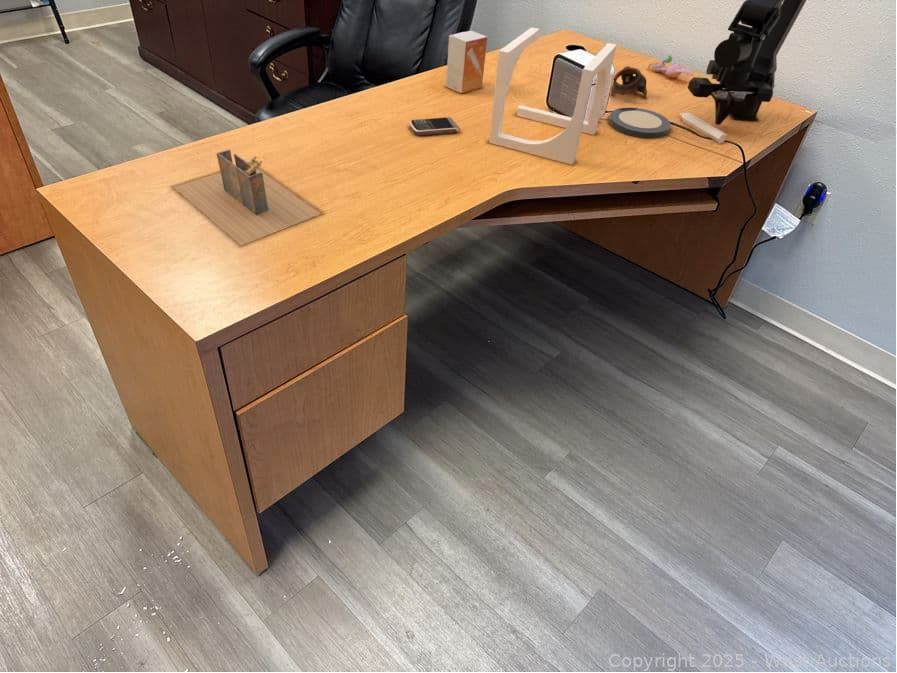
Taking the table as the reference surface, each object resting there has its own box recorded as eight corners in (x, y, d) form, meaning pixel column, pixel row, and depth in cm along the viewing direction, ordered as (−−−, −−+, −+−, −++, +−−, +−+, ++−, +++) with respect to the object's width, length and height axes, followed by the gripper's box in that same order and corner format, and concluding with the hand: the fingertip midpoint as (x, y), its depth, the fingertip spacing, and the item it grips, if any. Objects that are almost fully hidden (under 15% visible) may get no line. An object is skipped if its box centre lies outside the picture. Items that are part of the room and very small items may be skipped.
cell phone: (407, 125, 141) (408, 119, 140) (452, 122, 144) (452, 116, 143) (415, 137, 137) (415, 131, 136) (460, 133, 140) (461, 127, 139)
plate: (661, 115, 156) (662, 109, 155) (675, 140, 145) (677, 134, 144) (603, 110, 155) (605, 105, 154) (614, 135, 144) (616, 129, 143)
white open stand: (488, 142, 137) (499, 50, 124) (519, 112, 151) (531, 27, 137) (572, 164, 132) (592, 71, 118) (596, 132, 145) (616, 44, 132)
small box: (461, 94, 158) (465, 41, 149) (445, 86, 161) (448, 34, 152) (482, 87, 162) (488, 36, 153) (466, 80, 165) (470, 29, 156)
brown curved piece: (652, 104, 162) (649, 79, 155) (617, 117, 165) (613, 93, 158) (641, 77, 168) (637, 52, 162) (607, 89, 171) (602, 66, 164)
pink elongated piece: (643, 74, 181) (683, 83, 171) (646, 53, 178) (687, 60, 168) (657, 72, 184) (697, 80, 174) (660, 50, 181) (702, 58, 170)
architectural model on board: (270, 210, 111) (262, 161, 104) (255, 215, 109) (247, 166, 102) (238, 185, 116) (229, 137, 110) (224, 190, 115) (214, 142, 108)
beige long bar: (676, 119, 156) (721, 144, 146) (672, 116, 155) (717, 141, 145) (683, 110, 155) (728, 135, 145) (679, 106, 154) (724, 131, 143)
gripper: (768, 50, 145) (742, 113, 156) (692, 44, 145) (672, 108, 155) (786, 66, 137) (758, 132, 147) (706, 60, 136) (683, 126, 147)
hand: (717, 124), depth 149 cm, fingers closed
